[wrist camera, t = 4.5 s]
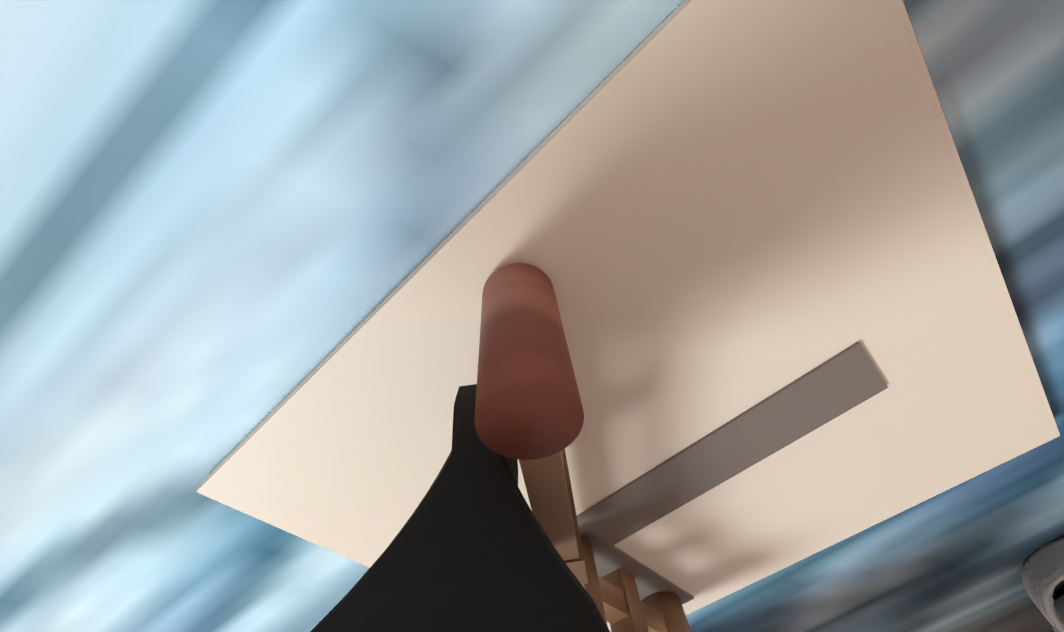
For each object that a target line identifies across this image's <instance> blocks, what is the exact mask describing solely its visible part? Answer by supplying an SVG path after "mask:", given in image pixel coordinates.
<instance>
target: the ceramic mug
mask: <svg viewBox="0 0 1064 632" xmlns="http://www.w3.org/2000/svg"><path fill="white" fill-rule="evenodd" d="M1062 580H1064V537H1061V538H1059V539H1057V540H1055V541H1052V542H1050V543H1048V544H1046V545H1044V546H1043V547H1041V548H1040V549H1038V550H1037V551H1036V552H1034V553H1033V554H1032V555H1030V557H1029V558H1028V560H1027V561H1026V562H1025V564H1024V566H1023V568H1022V581H1023V585H1024V588H1025V590H1026V592H1027V593H1028V595H1029V596H1030V598H1031V599H1032V600H1033V602H1034V603H1035V604H1036V606H1037V607H1038V608H1039V610H1040V611H1041V612H1042V613H1043V615H1044V616H1045V617H1046V619H1047V620H1048V621H1049V622H1050V623H1051V625H1052V627H1053V629H1054V631H1055V632H1064V594H1063V595H1062V596H1060V597H1059V598H1057V599H1055V600H1053V598H1052V596H1053V592H1054V588H1055V586H1056V585H1057V584H1059V582H1060V581H1062Z"/></svg>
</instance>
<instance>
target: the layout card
mask: <svg viewBox="0 0 1064 632" xmlns="http://www.w3.org/2000/svg"><path fill="white" fill-rule="evenodd" d="M512 263H526V264H530V265H533V266H535V267H537V268H539V269H541V270H542V271H543V272H544V273H545V274H546V275H547V276H548V277H549V279H550V280H551V282H552V285H553V288H554V292H555V296H556V300H557V305H558V309H559V313H560V317H561V321H562V325H563V329H564V333H565V337H566V341H567V345H568V349H569V354H570V358H571V362H572V366H573V370H574V374H575V378H576V382H577V386H578V390H579V394H580V399H581V403H582V407H583V411H584V423H583V426H582V429H581V431H580V433H579V435H578V436H577V438H576V439H575V440H574V441H573V442H572V443H571V444H570V445H569V446H568V447H566V448H565V452H566V458H567V464H568V470H569V476H570V481H571V487H572V493H573V499H574V504H575V510H576V516H577V522H578V528H579V533H580V535H582V536H584V537H586V538H588V539H589V540H590V541H591V544H592V549H593V554H594V559H595V564H596V569H597V574H598V576H599V577H600V578H602V577H604V576H606V575H607V574H609V573H611V572H613V571H615V570H617V569H618V568H621V569H623V570H624V571H626V572H628V573H629V574H631V575H633V576H634V578H635V582H636V585H637V589H638V593H639V597H640V600H641V601H642V600H643V599H644V598H645V597H647V596H648V595H651V594H653V593H657V592H665V591H666V592H673V593H676V594H677V595H678V596H679V597H680V600H681V603H682V606H683V609H684V612H685V615H688V614H690V613H692V612H694V611H696V610H698V609H700V608H702V607H704V606H706V605H708V604H711V603H713V602H715V601H717V600H719V599H721V598H723V597H725V596H727V595H729V594H731V593H733V592H736V591H738V590H740V589H742V588H744V587H746V586H748V585H750V584H752V583H754V582H756V581H758V580H761V579H763V578H765V577H767V576H769V575H771V574H773V573H775V572H777V571H779V570H781V569H783V568H786V567H788V566H790V565H792V564H794V563H796V562H798V561H800V560H802V559H804V558H806V557H808V556H811V555H813V554H815V553H817V552H819V551H821V550H823V549H825V548H827V547H829V546H831V545H834V544H836V543H838V542H840V541H842V540H844V539H846V538H848V537H850V536H852V535H854V534H856V533H859V532H861V531H863V530H865V529H867V528H869V527H871V526H873V525H875V524H877V523H879V522H881V521H884V520H886V519H888V518H890V517H892V516H894V515H896V514H898V513H900V512H902V511H904V510H906V509H909V508H911V507H913V506H915V505H917V504H919V503H921V502H923V501H925V500H927V499H929V498H931V497H934V496H936V495H938V494H940V493H942V492H944V491H946V490H948V489H950V488H952V487H954V486H956V485H959V484H961V483H963V482H965V481H967V480H969V479H971V478H973V477H975V476H977V475H979V474H981V473H984V472H986V471H988V470H990V469H992V468H994V467H996V466H998V465H1000V464H1002V463H1004V462H1006V461H1009V460H1011V459H1013V458H1015V457H1017V456H1019V455H1021V454H1023V453H1025V452H1027V451H1029V450H1031V449H1034V448H1036V447H1038V446H1040V445H1042V444H1044V443H1046V442H1048V441H1050V440H1052V439H1054V438H1056V437H1059V436H1060V434H1059V431H1058V428H1057V425H1056V423H1055V420H1054V417H1053V414H1052V412H1051V409H1050V406H1049V403H1048V401H1047V398H1046V395H1045V392H1044V389H1043V387H1042V384H1041V381H1040V378H1039V376H1038V373H1037V370H1036V367H1035V365H1034V362H1033V359H1032V356H1031V353H1030V351H1029V348H1028V345H1027V342H1026V340H1025V337H1024V334H1023V331H1022V329H1021V326H1020V323H1019V320H1018V318H1017V315H1016V312H1015V309H1014V306H1013V304H1012V301H1011V298H1010V295H1009V293H1008V290H1007V287H1006V284H1005V282H1004V279H1003V276H1002V273H1001V271H1000V268H999V265H998V262H997V259H996V257H995V254H994V251H993V248H992V246H991V243H990V240H989V237H988V235H987V232H986V229H985V226H984V224H983V221H982V218H981V215H980V212H979V210H978V207H977V204H976V201H975V199H974V196H973V193H972V190H971V188H970V185H969V182H968V179H967V177H966V174H965V171H964V168H963V165H962V163H961V160H960V157H959V154H958V152H957V149H956V146H955V143H954V141H953V138H952V135H951V132H950V130H949V127H948V124H947V121H946V118H945V116H944V113H943V110H942V107H941V105H940V102H939V99H938V96H937V94H936V91H935V88H934V85H933V83H932V80H931V77H930V74H929V71H928V69H927V66H926V63H925V60H924V58H923V55H922V52H921V49H920V47H919V44H918V41H917V38H916V35H915V33H914V30H913V27H912V24H911V22H910V19H909V16H908V13H907V11H906V8H905V5H904V2H903V0H684V1H683V2H682V3H681V4H680V5H679V6H678V7H677V8H676V9H675V10H674V11H673V12H672V13H671V14H670V15H669V16H668V17H667V18H666V19H665V20H664V21H663V22H662V23H661V24H660V25H659V26H658V27H657V28H656V29H655V30H654V31H653V32H652V33H651V34H650V35H649V36H648V37H647V38H646V39H645V40H644V41H643V42H642V43H641V44H640V45H639V46H638V47H637V48H636V49H635V50H634V51H633V52H632V53H631V54H630V55H629V56H628V57H627V58H626V59H625V60H624V61H623V62H622V63H621V64H620V65H619V66H618V67H617V68H616V69H615V70H614V71H613V72H612V73H611V74H610V75H609V76H608V77H607V78H606V79H605V80H604V81H603V82H602V83H601V84H600V85H599V86H598V87H597V88H596V89H595V90H594V91H593V92H592V93H591V94H590V95H589V96H588V97H587V98H586V99H585V100H584V101H583V102H582V103H581V104H580V105H579V106H578V107H577V108H576V109H575V110H574V111H573V112H572V113H571V114H570V115H569V116H568V117H567V118H566V119H565V120H564V121H563V122H562V123H561V124H560V125H559V126H558V127H557V128H556V129H555V130H554V131H553V132H552V133H551V134H550V135H549V136H548V137H547V138H546V139H545V140H544V141H543V142H542V143H541V144H540V145H539V146H538V147H537V148H536V149H535V150H534V151H533V152H532V153H531V154H530V155H529V156H528V157H527V158H526V159H525V160H524V161H523V162H522V163H521V164H520V165H519V166H518V167H517V168H516V169H515V170H514V171H513V172H512V173H511V174H510V175H509V176H508V177H507V178H506V179H505V180H504V181H503V182H502V183H501V184H500V185H499V186H498V187H497V188H496V189H495V190H494V191H493V192H492V193H491V194H490V195H489V196H488V197H487V198H486V199H485V200H484V201H483V202H482V203H481V204H480V205H479V206H478V207H477V208H476V209H475V210H474V211H473V212H472V213H471V214H470V215H468V216H467V217H466V218H465V219H464V220H463V221H462V222H461V223H460V224H459V225H458V226H457V227H456V228H455V229H454V230H453V231H452V232H451V233H450V234H449V235H448V236H447V237H446V238H445V239H444V240H443V241H442V242H441V243H440V244H439V245H438V246H437V247H436V248H435V249H434V250H433V251H432V252H431V253H430V254H429V255H428V256H427V257H426V258H425V259H424V260H423V261H422V262H421V263H420V264H419V265H418V266H417V267H416V268H415V269H414V270H413V271H412V272H411V273H410V274H409V275H408V276H407V277H406V278H405V279H404V280H403V281H402V282H401V283H400V284H399V285H398V286H397V287H396V288H395V289H394V290H393V291H392V292H391V293H390V294H389V295H388V296H387V297H386V298H385V299H384V300H383V301H382V302H381V303H380V304H379V305H378V306H377V307H376V308H375V309H374V310H373V311H372V312H371V313H370V314H369V315H368V316H367V317H366V318H365V319H364V320H363V321H362V322H361V323H360V324H359V325H358V326H357V327H356V328H355V329H354V330H353V331H352V332H351V333H350V334H349V335H348V336H347V337H346V338H345V339H344V340H343V341H342V342H341V343H340V344H339V345H338V346H337V347H336V348H335V349H334V350H333V351H332V352H331V353H330V354H329V355H328V356H327V357H326V358H325V359H324V360H323V361H322V362H321V363H320V364H319V365H318V366H317V367H316V368H315V369H314V370H313V371H312V372H311V373H310V374H309V375H308V376H307V377H306V378H305V379H304V380H303V381H302V382H301V383H300V384H299V385H298V386H297V387H296V388H295V389H294V390H293V391H292V392H291V393H290V394H289V395H288V396H287V397H286V398H285V399H284V400H283V401H282V402H281V403H280V404H279V405H278V406H277V407H276V408H275V409H274V410H273V411H272V412H271V413H270V414H269V415H268V416H267V417H266V418H265V419H264V420H263V421H262V422H261V423H260V424H259V425H258V426H257V427H256V428H255V429H254V430H253V431H252V432H251V433H250V434H249V435H248V436H247V437H246V438H245V439H244V440H243V441H242V442H241V443H240V444H239V445H238V446H237V447H236V448H235V449H234V450H233V451H232V452H231V453H230V454H229V455H228V456H227V457H226V458H225V459H224V460H223V461H222V462H221V463H220V464H219V465H218V466H217V467H216V468H215V469H214V470H213V471H212V472H211V473H210V474H209V475H208V476H207V477H206V478H205V480H204V481H203V483H202V484H201V486H200V487H199V488H198V490H197V491H196V492H198V493H200V494H202V495H205V496H207V497H209V498H211V499H214V500H216V501H218V502H221V503H223V504H225V505H227V506H230V507H232V508H234V509H237V510H239V511H241V512H243V513H246V514H248V515H250V516H253V517H255V518H257V519H259V520H262V521H264V522H266V523H269V524H271V525H273V526H275V527H278V528H280V529H282V530H285V531H287V532H289V533H291V534H294V535H296V536H298V537H301V538H303V539H305V540H307V541H310V542H312V543H314V544H317V545H319V546H321V547H323V548H326V549H328V550H330V551H333V552H335V553H337V554H339V555H342V556H344V557H346V558H349V559H351V560H353V561H356V562H358V563H360V564H362V565H365V566H367V567H369V568H370V567H371V566H372V565H373V564H374V562H375V561H376V560H377V559H378V558H379V557H380V555H381V554H382V553H383V552H384V551H385V550H386V548H387V547H388V546H389V545H390V543H391V542H392V541H393V539H394V538H395V537H396V536H397V534H398V533H399V532H400V530H401V529H402V527H403V526H404V525H405V523H406V522H407V521H408V519H409V518H410V517H411V515H412V514H413V512H414V511H415V510H416V508H417V507H418V505H419V504H420V502H421V501H422V499H423V498H424V496H425V495H426V493H427V492H428V490H429V488H430V487H431V485H432V484H433V482H434V480H435V479H436V477H437V475H438V474H439V472H440V470H441V468H442V467H443V465H444V463H445V461H446V459H447V458H448V456H449V454H450V452H451V450H452V430H453V411H454V403H455V399H456V395H457V392H458V389H459V386H466V385H473V384H477V373H478V357H479V341H480V325H481V309H482V293H483V288H484V285H485V282H486V281H487V279H488V278H489V276H490V275H491V274H492V273H493V272H494V271H496V270H497V269H499V268H501V267H502V266H505V265H508V264H512ZM518 487H519V489H520V491H521V493H522V495H523V497H524V498H525V500H526V502H527V504H528V506H529V507H530V509H531V506H530V502H529V498H528V494H527V490H526V486H525V482H524V478H523V474H522V470H521V467H520V463H519V459H518ZM531 511H532V510H531ZM607 626H608V629H609V631H610V632H611V627H610V623H609V622H607Z"/></svg>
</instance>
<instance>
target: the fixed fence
mask: <svg viewBox="0 0 1064 632" xmlns="http://www.w3.org/2000/svg"><path fill="white" fill-rule="evenodd" d="M580 539H581V545H582V551H583V556H584V562H585V568H586V574H587V580H588V583H586V584H585V589H586V591H587V592H588V593H589V595H590V596H591V597H592V599H593V600H594V602H595V604H596V606H597V608H598V610H599V612H600V614H601V616H602V618H603V619H604V621H605V623H606V625H607V622H609V623H610V627H611V632H691V630H690V627H689V624H688V621H687V618H686V615H685V612H684V609H683V606H682V603H681V600H680V597H679V596H678V595H677V594H676V593H673V592H666V591H665V592H657V593H653V594H651V595H648V596H647V597H645V598H644V599H643V600H642V601H641V600H640V597H639V593H638V589H637V585H636V582H635V578H634V576H633V575H631V574H629V573H628V572H626V571H624V570H623V569H621V568H618V569H617V570H615V571H613V572H611V573H609V574H607V575H606V576H604V577H602V578H600V577H599V576H598V574H597V569H596V564H595V559H594V554H593V549H592V544H591V541H590V540H589V539H588V538H586V537H584V536H582V535H580ZM607 627H608V626H607Z"/></svg>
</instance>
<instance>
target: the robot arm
mask: <svg viewBox="0 0 1064 632" xmlns="http://www.w3.org/2000/svg"><path fill="white" fill-rule="evenodd" d="M476 389H477V384H473V385H466V386H459V389H458V392H457V395H456V399H455V403H454V411H453V430H452V450H451V452H450V454H449V456H448V458H447V459H446V461H445V463H444V465H443V467H442V468H441V470H440V472H439V474H438V475H437V477H436V479H435V480H434V482H433V484H432V485H431V487H430V488H429V490H428V492H427V493H426V495H425V496H424V498H423V499H422V501H421V502H420V504H419V505H418V507H417V508H416V510H415V511H414V512H413V514H412V515H411V517H410V518H409V519H408V521H407V522H406V523H405V525H404V526H403V527H402V529H401V530H400V532H399V533H398V534H397V536H396V537H395V538H394V539H393V541H392V542H391V543H390V545H389V546H388V547H387V548H386V550H385V551H384V552H383V553H382V554H381V555H380V557H379V558H378V559H377V560H376V561H375V562H374V564H373V565H372V566H371V567H370V568H369V569H368V571H367V572H366V573H365V574H364V575H363V576H362V578H361V579H360V580H359V581H358V582H357V583H356V585H355V586H354V587H353V588H352V589H351V590H350V591H349V592H348V593H347V595H346V596H345V597H344V598H343V599H342V600H341V601H340V602H339V603H338V604H337V605H336V606H335V607H334V608H333V609H332V610H331V611H330V612H329V613H328V614H327V615H326V616H325V617H324V618H323V619H322V620H321V621H320V622H319V623H318V624H317V625H316V627H315V628H314V629H313V630H312V631H311V632H610V631H609V629H608V627H607V625H606V623H605V621H604V619H603V618H602V616H601V614H600V612H599V610H598V608H597V606H596V604H595V602H594V600H593V599H592V597H591V596H590V595H589V593H588V592H587V591H586V590H585V588H584V587H583V586H582V584H581V583H580V582H579V580H578V579H577V578H576V576H575V575H574V574H573V572H572V571H571V570H570V568H569V567H568V566H567V564H566V563H565V561H564V560H563V559H562V557H561V556H560V554H559V553H558V552H557V550H556V549H555V547H554V546H553V544H552V543H551V541H550V540H549V538H548V536H547V535H546V533H545V532H544V530H543V529H542V527H541V525H540V524H539V522H538V521H537V519H536V518H535V516H534V514H533V513H532V511H531V509H530V507H529V506H528V504H527V502H526V500H525V498H524V497H523V495H522V493H521V491H520V489H519V487H518V459H512V458H508V457H504V456H502V455H499V454H497V453H495V452H493V451H492V450H490V449H489V448H488V447H487V446H485V445H484V444H483V442H482V441H481V440H480V438H479V437H478V435H477V432H476V429H475V405H476Z"/></svg>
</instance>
